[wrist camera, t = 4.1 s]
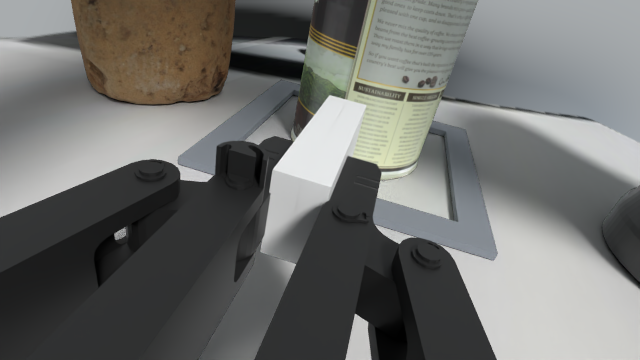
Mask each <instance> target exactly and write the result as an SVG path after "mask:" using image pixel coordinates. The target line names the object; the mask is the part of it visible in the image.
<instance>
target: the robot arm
mask: <svg viewBox="0 0 640 360" xmlns="http://www.w3.org/2000/svg"><path fill="white" fill-rule="evenodd" d="M365 109H366V105H364V104H360V103H357V102H353V101H349V100H346V99H342V98H338V97H335V96H331V95H329V97H328V98H327V99H326V101H325V102H324V103H323V104H322V106H321V107H320V108H319V110H318V111H317V112H316V114H315V115H314V116H313V118H312V119H311V120H310V121H309V123H308V124H307V125H306V127H305V128H304V129H303V131H302V132H301V133H300V135H299V136H298V137H297V138H296V140H295V141H290V140H287V139H284V138H280V137H277V136H274V137H271V138H268V139H266V140H263V142H262V143H261V144H260V145H257V144H254V143H251V142H246V141H228V142H223V143H221V144H219V145H217V147H216V164H215V175H214V176H213V177H212V178H211V179H210V180H209V181H208V182H195V181H185V180H180V172H179V169H178V168H177V167H176V166H175V165H173V164H172V163H169V162H166V161H162V160H155V159H150V160H141V161H138V162H134V163H131V164H128V165H126V166H124V167H121V168H119V169H116V170H114V171H112V172H109V173H107V174H104V175H102V176H99V177H97V178H95V179H92V180H90V181H87V182H85V183H83V184H80V185H78V186H75V187H73V188H71V189H68V190H66V191H63V192H61V193H58V194H56V195H54V196H51V197H49V198H46V199H44V200H42V201H39V202H37V203H34V204H32V205H30V206H27V207H25V208H22V209H20V210H17V211H15V212H13V213H10V214H8V215H5V216H3V217H1V218H0V360H198V359H199V357H200V356H201V354H202V352H203V350H204V349H205V347H206V345H207V343H208V342H209V340H210V338H211V337H212V335H213V333H214V331H215V330H216V328H217V326H218V324H219V323H220V321H221V319H222V317H223V316H224V314H225V312H226V311H227V309H228V307H229V305H230V304H231V302H232V300H233V298H234V297H235V295H236V293H237V292H238V290H239V288H240V286H241V285H242V283H243V281H244V279H245V278H246V276H247V274H248V273H249V271H250V269H251V267H252V266H253V263H254V259H255V252H256V248H257V247H258V245H259V243H260V242H261V240H262V244H261V251H260V252H261V253H264V254H267V255H270V256H273V257H276V258H280V259H283V260H286V261H289V262H292V263H295V264H296V266H295V269H294V271H293V273H292V275H291V278H290V280H289V282H288V284H287V287H286V289H285V291H284V294H283V296H282V298H281V300H280V303H279V305H278V307H277V309H276V312H275V314H274V316H273V318H272V321H271V323H270V325H269V328H268V330H267V332H266V334H265V337H264V339H263V341H262V343H261V346H260V348H259V350H258V353H257V355H256V357H255V359H254V360H345V359H346V354H347V349H348V344H349V339H350V334H351V330H352V325H353V320H354V315H355V314H357V315H358V316H360V317H361V318H363V319H364V320H366V321H367V322H369V323H368V333H369V341H370V350H371V358H372V360H497V359H496V357H495V354H494V352H493V350H492V347H491V345H490V343H489V340H488V338H487V335H486V333H485V331H484V328H483V326H482V324H481V321H480V319H479V317H478V314H477V312H476V310H475V307H474V305H473V303H472V300H471V298H470V296H469V293H468V291H467V289H466V286H465V284H464V282H463V279H462V277H461V275H460V272H459V270H458V268H457V265H456V263H455V261H454V259H453V258H452V256H451V255H450V253H449V252H447V251H446V250H445V249H444V248H443V247H441V246H440V245H438V244H436V243H434V242H432V241H430V240H426V239H423V238H408V239H405V240H403V241H402V242H401V243H400V244H398V243H396V242H394V241H392V240H391V239H389V238H388V237H386V236H385V235H383V234H382V233H381V232H380V231H379V230H378V229H377V227H376V226H375V224H374V221H373V212H374V208H375V203H376V198H377V193H378V188H379V184H380V179H381V174H382V173H381V171H380V169H379V167H378V165H377V164H374V163H371V162H368V161H364V160H361V159H357V158H354V157H353V153H354V150H355V146H356V142H357V138H358V135H359V131H360V127H361V124H362V120H363V116H364V113H365ZM124 227H126V236H125V237H123V238H121V239H119V240H115V237H114V233H116V232H117V231H119V230H121V229H123V228H124ZM602 229H603V235H604V238H605V240H606V242H607V244H608V246H609V247H610V249H611V251H612V252H613V253H614V255H615V256H616V257H617V259H618V260H619V261H620V262H621V263H622V265H623V266H624V267H625V268H626V269H627V270H628V271H629V272H630V273H631V274H632V275H633V276H634V277H635V278H636V279H637V280H638V281H639V282H640V186H639V187H637V188H634V189H631V190H630V191H628V192H627V193H626V194H625V195H624V196H623V197H622V198H620V200H619V201H618V202H617V204H616V205H615V207H614V208H613V209H612V211H611V212H610V213H609V215H608V216H607V217H606V219H605V220H604V222H603V226H602Z"/></svg>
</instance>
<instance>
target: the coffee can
mask: <svg viewBox="0 0 640 360" xmlns="http://www.w3.org/2000/svg"><path fill="white" fill-rule="evenodd" d="M477 2H478V0H315V1H314V6H313V13H312V19H311V25H310V32H309V37H308V43H307V49H306V55H305V61H304V67H303V73H302V79H301V85H300V90H299V96H298V101H297V107H296V113H295V119H294V125H293V128H292V131H291V138H292V141H295V140H296V138H297V137H298V136H299V135H300V133H301V132H302V131H303V129H304V128H305V127H306V125H307V124H308V123H309V121H310V120H311V119H312V118H313V116H314V115H315V114H316V112H317V111H318V110H319V108H320V107H321V106H322V104H323V103H324V102H325V101H326V99H327V98H328V97H329V95H331V96H335V97H338V98H342V99H346V100H349V101H353V102H357V103H360V104H364V105H366V109H365V113H364V116H363V120H362V124H361V127H360V131H359V135H358V138H357V142H356V146H355V150H354V153H353V157H354V158H357V159H361V160H364V161H368V162H371V163H374V164H377V165H378V167H379V169H380V171H381V173H382V174H381V179H380V180H390V179H395V178H400V177H404V176H406V175H408V174H410V173H411V172H412V171H413V170H414V169H415V168H416V167H417V163H418V158H419V155H420V152H421V150H422V147H423V144H424V142H425V139H426V137H427V134H428V131H429V129H430V126H431V124H432V121H433V118H434V116H435V113H436V110H437V108H438V105H439V103H440V100H441V97H442V94H443V92H444V89H445V87H446V84H447V81H448V79H449V76H450V74H451V71H452V69H453V66H454V63H455V60H456V58H457V55H458V53H459V50H460V47H461V45H462V42H463V39H464V37H465V34H466V31H467V29H468V26H469V24H470V21H471V18H472V16H473V13H474V10H475V8H476V5H477Z"/></svg>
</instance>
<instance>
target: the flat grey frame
mask: <svg viewBox="0 0 640 360" xmlns="http://www.w3.org/2000/svg"><path fill="white" fill-rule="evenodd" d="M299 90H300V85H299V84H295V83H292V82H288V81H284V80H280V81H279V82H277V83H276V84H275V85H273V86H272V87H271V88H269V89H268V90H267V91H265V92H264V93H263V94H261V95H260V96H259V97H257V98H256V99H255V100H253V101H252V102H251V103H249V104H248V105H247V106H245V107H244V108H243V109H241V110H240V111H239V112H237V113H236V114H235V115H233V116H232V117H231V118H229V119H228V120H227V121H225V122H224V123H223V124H221V125H220V126H219V127H217V128H216V129H215V130H213V131H212V132H211V133H209V134H208V135H207V136H205V137H204V138H203V139H201V140H200V141H199V142H197V143H196V144H195V145H193V146H192V147H191V148H189V149H188V150H187V151H185V152H184V153H183V154H181V155H180V156H179V157H178V164H180V165H183V166H186V167H190V168H193V169H196V170H199V171H203V172H206V173H209V174H213V175H215V164H216V147H217V145H219V144H221V143H223V142H228V141H244V140H245V139H246V138H247V137H248V136H249V135H250V134H252V133H253V132H254V131H255V130H256V129H257V128H258V127H259V126H260V125H261V124H262V123H263V122H264V121H265V120H267V119H268V118H269V117H270V116H271V115H272V114H273V113H274V112H275V111H276V110H277V109H278V108H279V107H280V106H282V105H283V104H284V103H285V102H286V101H287V100H288V99H289V98H290V97H291V96H292V95H296V96H299ZM428 132H431V133H434V134H438V135H442V136H444V139H445V147H446V155H447V164H448V172H449V180H450V189H451V197H452V206H453V214H454V221H453V220H450V219H446V218H443V217H439V216H436V215H433V214H429V213H426V212H423V211H419V210H416V209H413V208H409V207H406V206H403V205H399V204H396V203H392V202H389V201H386V200H382V199H379V198H376V203H375V208H374V212H373V221H374V224H376V225H379V226H383V227H386V228H389V229H392V230H396V231H399V232H402V233H406V234H409V235H412V236H415V237H419V238H423V239H426V240H430V241H432V242H435V243H438V244H442V245H445V246H448V247H451V248H455V249H458V250H461V251H464V252H468V253H471V254H474V255H477V256H481V257H484V258H487V259H491V260H494V259H495V258H496V256H497V254H498V253H497V249H496V245H495V241H494V237H493V233H492V230H491V226H490V222H489V218H488V214H487V210H486V206H485V203H484V199H483V195H482V191H481V187H480V183H479V180H478V176H477V172H476V168H475V164H474V160H473V156H472V153H471V149H470V145H469V141H468V137H467V133H466V130H465V129H461V128H458V127H454V126H450V125H447V124H443V123H439V122H436V121H432V124H431V126H430V129H429V131H428Z"/></svg>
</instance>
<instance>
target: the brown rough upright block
mask: <svg viewBox="0 0 640 360" xmlns="http://www.w3.org/2000/svg"><path fill="white" fill-rule="evenodd" d="M71 3H72V9H73V15H74V20H75V25H76V31H77V36H78V41H79V45H80V50H81V54H82V57H83V62H84V66H85V70H86V74H87V77H88V79H89V81H90V83H91V85H92V86H93V88H94V89H96V90H97V91H98V92H99V93H102V94H105V95H107V96H108V97H111V98H114V99H117V100H121V101H127V102H130V103H134V104H172V103H175V102H177V101H186V102H190V101H198V100H206V99H209V98H210V97H211V96H213V95H216V94H218V93H220V92H221V90H222V88H223V86H224V82H225V81H226V78H227V75H228V69H229V63H230V55H231V48H232V38H233V27H234V14H235V0H71Z"/></svg>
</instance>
